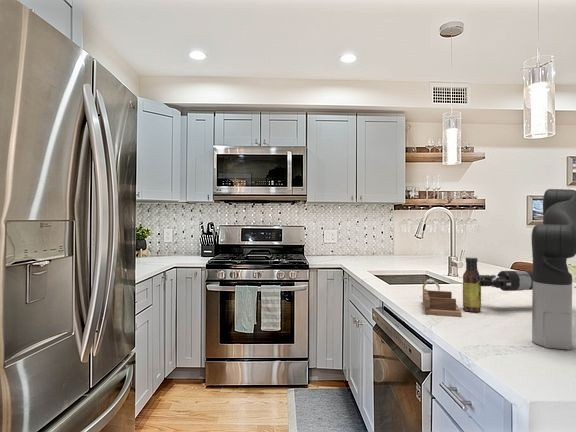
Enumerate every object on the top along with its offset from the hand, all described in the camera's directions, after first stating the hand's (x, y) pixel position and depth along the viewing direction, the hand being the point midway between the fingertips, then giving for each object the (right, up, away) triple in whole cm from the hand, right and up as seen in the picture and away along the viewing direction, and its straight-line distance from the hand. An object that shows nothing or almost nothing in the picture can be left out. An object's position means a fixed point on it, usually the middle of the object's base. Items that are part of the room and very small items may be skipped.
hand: (473, 281), depth 147 cm
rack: (-12, -11, +2) cm, 16 cm away
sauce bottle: (-1, -11, 0) cm, 11 cm away
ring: (-7, -11, +24) cm, 27 cm away
